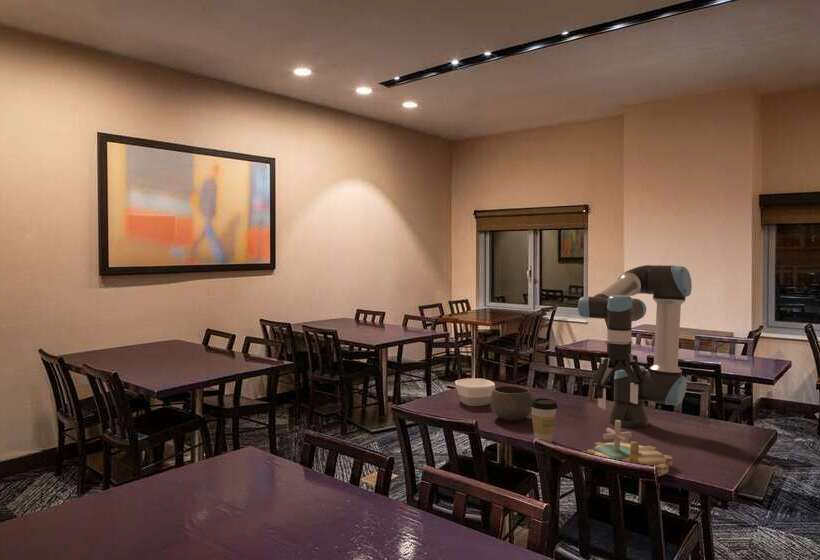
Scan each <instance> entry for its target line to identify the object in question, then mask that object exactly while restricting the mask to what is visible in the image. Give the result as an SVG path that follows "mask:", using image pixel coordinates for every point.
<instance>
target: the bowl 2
mask: <svg viewBox="0 0 820 560" xmlns="http://www.w3.org/2000/svg"><path fill="white" fill-rule="evenodd" d="M533 399H534V397H533V393H532V392H531V390H530V389H529V388H525V387H523V386H517V385H500V386H495V388H494V390H493V391H492V394H491V398H490V403H489V405H490V409H491V411H492V412H493V413H494V415H495V416H497V417H498V418H500V419H502V420H504V421H509V422H511V421H512V422H515V421H520V420H523V419H525V418H527V417H528V416H529V415H530V414H532V407H531V406H530V405H531V402H532V400H533Z"/></svg>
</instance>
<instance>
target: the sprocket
mask: <svg viewBox="0 0 820 560" xmlns="http://www.w3.org/2000/svg"><path fill="white" fill-rule="evenodd" d="M587 453H590V454H594V455H598V456H602V457H606V458H612V459H616V460H622V461H627V462H632V463H640V464H647V465H655V466H656V468H657V472H658V473H660V474H664V473H667V472H668V473H669V471H668V465H669V466H673V457H672V456H671V455H669V454H663V453H662V452H660V451H658V447H656V446H652V445H646V446H645V445H640V443H639V441H635V440H634V441H632V440H631V441H629V442H628V443H625V442H623V441H621V440H620V451H615V450H614V442H601V441H597V442H594V443H593V447H592V448H591V449H589V448H587ZM668 473H667V474H668Z"/></svg>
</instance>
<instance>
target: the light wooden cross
mask: <svg viewBox="0 0 820 560" xmlns="http://www.w3.org/2000/svg"><path fill="white" fill-rule="evenodd" d="M621 427H622V426H621V421H620V420H615V424H614V429H612V427H611V428H610V427H607V428H606V429H605V431H606V432H605V433H603V434H602V438H603V440H612V439H614V441H613V443H614V450H615V451H620V441H623V442H625V443H630V438H632V437H633V433H632V431H623V432H621V429H622V428H621Z"/></svg>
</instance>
